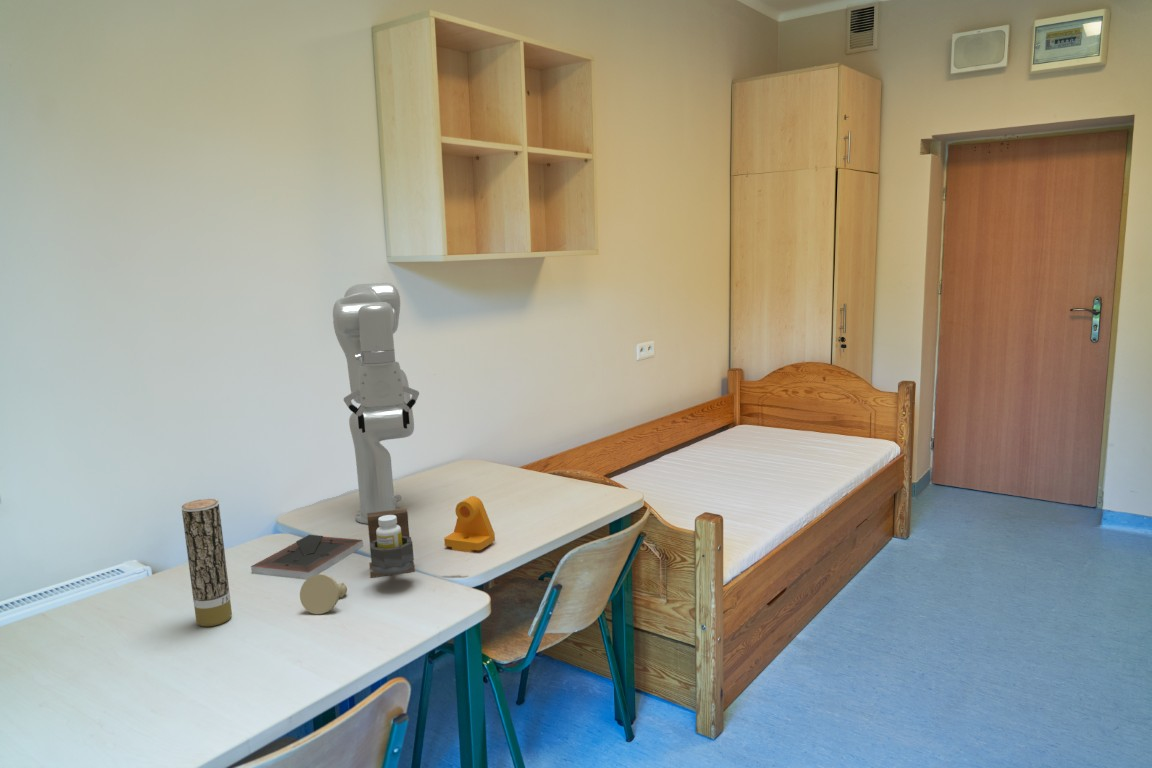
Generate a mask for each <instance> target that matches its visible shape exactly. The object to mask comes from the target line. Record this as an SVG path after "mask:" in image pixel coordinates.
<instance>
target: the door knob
mask: <svg viewBox="0 0 1152 768" xmlns="http://www.w3.org/2000/svg"><path fill="white" fill-rule="evenodd" d="M347 592H348V587H347V586H346V585H345V583H344V582H339V583H337V581H336V579H334V578H333V577H332V576H330V575H328V574H325V573H324V574H322V573H319V574H318V575H314V576H311V577H310V578H308V579H305V581H304V582H303V583H302V585H301V587H300V591H299V599H300V603H301V606H302V607H303V608H304V609H305V610H306V611H307V612H308V613H311V614H313V615H322V614H325V613H328V612H330V611H331V610H332V609H334V607H336V605H337V604H338V602H339V598H343V597H344V596H346V594H347Z"/></svg>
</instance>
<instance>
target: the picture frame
mask: <svg viewBox="0 0 1152 768" xmlns="http://www.w3.org/2000/svg"><path fill="white" fill-rule="evenodd" d="M363 547H364V540H363V539H355V538H343V537H331V536H324V535H316V534H308V535H305V536H303V537H302V538H300V539H299V540H297V541H296V542H294V543H292V544H290V545H288V546H286V547H285V548H282V549H281V550H279V551H276V553H273V554H271V555H269V556H268V557H266V558H264V559H262V560H260V561H258V562H256V563H254V564H253V565H251V566H250V570H251V574H254V575H263V576H264V575H265V576H273V577H283V578H284V577H285V578H292V579H299V580H300V579H301V580H307V579H308V578H310V577H311V576H314V575H318V574H322V573H323V572H324V571H326V570H328V569H329V568H331V567H332V566H334V565H336V564H337V563H339V562H340V561H342V560H344V559H345V558H347V557H348V556H350V555H351V554H353V553H355V552H356V551H358V550H359V549H362V548H363Z"/></svg>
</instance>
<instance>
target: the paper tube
mask: <svg viewBox="0 0 1152 768" xmlns="http://www.w3.org/2000/svg"><path fill="white" fill-rule="evenodd" d="M181 514H182V521H183V529H184V538H185V545H186V553H187V560H188V561H187V562H188V569H189V576H190V577H189V578H190V583H191V593H192V599H193V601H192V602H193V607H194V613H195V621H196V623H197V625H198V626H201V627H215V626H219V625H222V624H225V623H226V622H228V621H229V620H230V619H231V617H232V615H233V614H232V613H233V612H232V605H231V604H232V602H231V594H230V585H229V578H228V569H227V560H226V553H225V552H226V551H225V543H224V536H223V528H222V519H221V510H220V503H219V500H218V499H216V498H203V499H195V500H193V501H189V502H186V503H184V504H182V505H181Z"/></svg>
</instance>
